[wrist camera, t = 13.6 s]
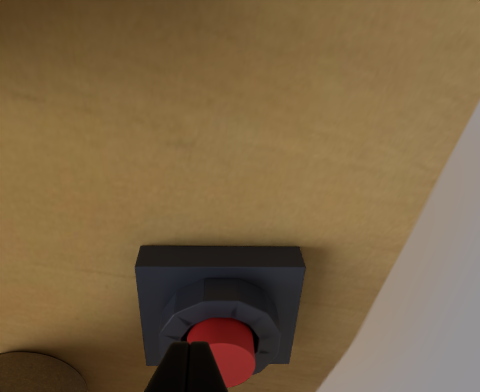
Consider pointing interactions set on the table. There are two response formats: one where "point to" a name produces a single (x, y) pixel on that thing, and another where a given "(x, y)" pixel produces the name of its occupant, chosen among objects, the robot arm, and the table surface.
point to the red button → (228, 347)
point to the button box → (220, 295)
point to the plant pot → (37, 374)
